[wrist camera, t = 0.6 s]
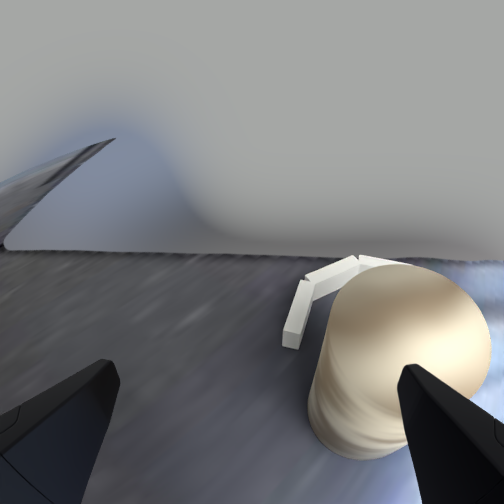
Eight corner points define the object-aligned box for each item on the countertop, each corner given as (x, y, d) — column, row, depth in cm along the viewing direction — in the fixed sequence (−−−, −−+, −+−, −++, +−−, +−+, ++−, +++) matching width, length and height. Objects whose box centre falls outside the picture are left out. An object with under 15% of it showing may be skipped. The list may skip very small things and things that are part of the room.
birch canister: (436, 431, 17) (515, 367, 10) (325, 477, 16) (370, 449, 9) (394, 341, 25) (436, 253, 18) (294, 370, 24) (304, 280, 17)
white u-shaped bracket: (454, 375, 21) (466, 362, 19) (282, 345, 26) (282, 330, 24) (446, 288, 29) (453, 273, 27) (309, 262, 34) (311, 245, 32)
